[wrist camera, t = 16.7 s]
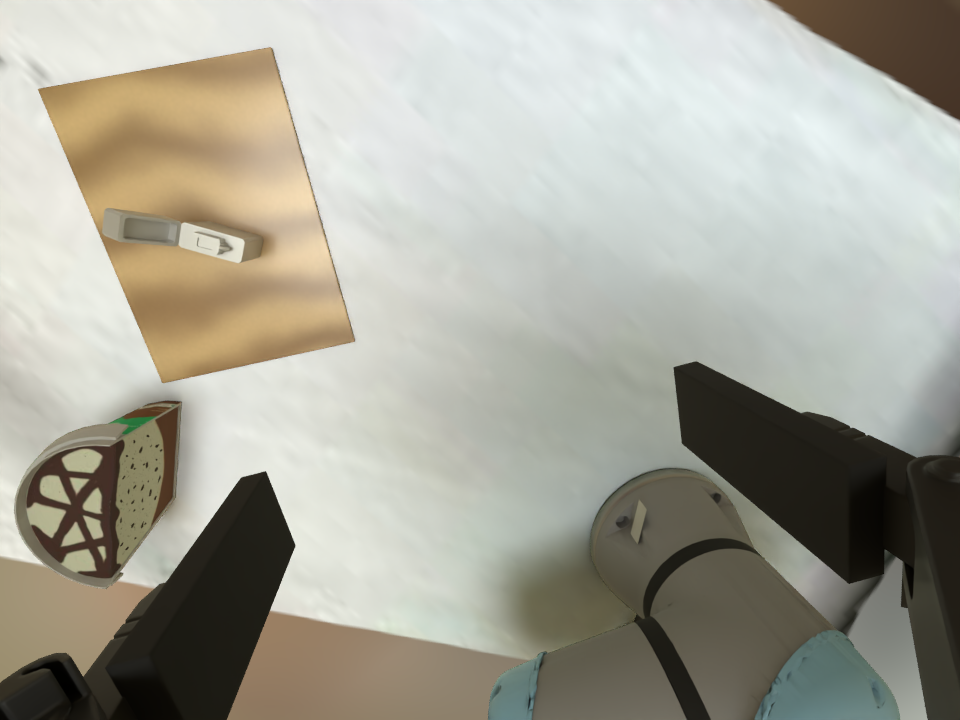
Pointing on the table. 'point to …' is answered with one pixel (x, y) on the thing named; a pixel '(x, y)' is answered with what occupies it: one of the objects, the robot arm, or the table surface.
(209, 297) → the wooden board
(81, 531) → the food container
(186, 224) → the lighter
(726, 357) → the table surface
